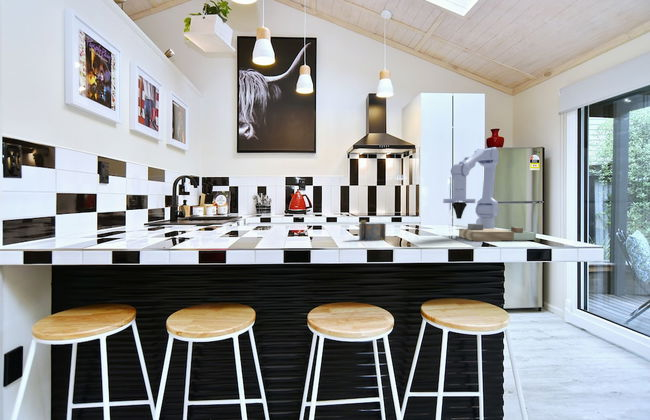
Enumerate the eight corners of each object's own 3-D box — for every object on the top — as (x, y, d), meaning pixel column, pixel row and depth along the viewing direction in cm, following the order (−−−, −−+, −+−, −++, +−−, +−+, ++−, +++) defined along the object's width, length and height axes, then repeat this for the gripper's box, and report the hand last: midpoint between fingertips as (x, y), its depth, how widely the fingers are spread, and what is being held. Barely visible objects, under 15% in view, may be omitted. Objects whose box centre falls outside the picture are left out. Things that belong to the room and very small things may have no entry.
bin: (495, 236, 167) (495, 229, 166) (515, 236, 167) (515, 229, 167) (513, 240, 152) (513, 233, 151) (535, 240, 152) (535, 232, 152)
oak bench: (459, 236, 166) (459, 228, 166) (495, 236, 167) (495, 228, 166) (473, 240, 151) (473, 231, 151) (513, 240, 152) (513, 231, 151)
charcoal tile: (467, 228, 164) (467, 223, 164) (478, 228, 165) (478, 223, 164) (472, 229, 159) (472, 224, 159) (483, 229, 160) (483, 224, 159)
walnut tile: (511, 226, 158) (516, 227, 158) (510, 237, 158) (516, 237, 158) (517, 228, 153) (522, 228, 153) (517, 239, 153) (522, 239, 153)
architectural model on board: (360, 241, 151) (361, 219, 151) (359, 240, 154) (359, 219, 154) (385, 241, 153) (385, 219, 152) (383, 240, 156) (383, 218, 155)
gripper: (447, 189, 157) (447, 219, 157) (478, 189, 157) (478, 219, 158) (441, 189, 164) (441, 218, 164) (471, 189, 164) (471, 218, 165)
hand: (458, 218), depth 161 cm, fingers closed
